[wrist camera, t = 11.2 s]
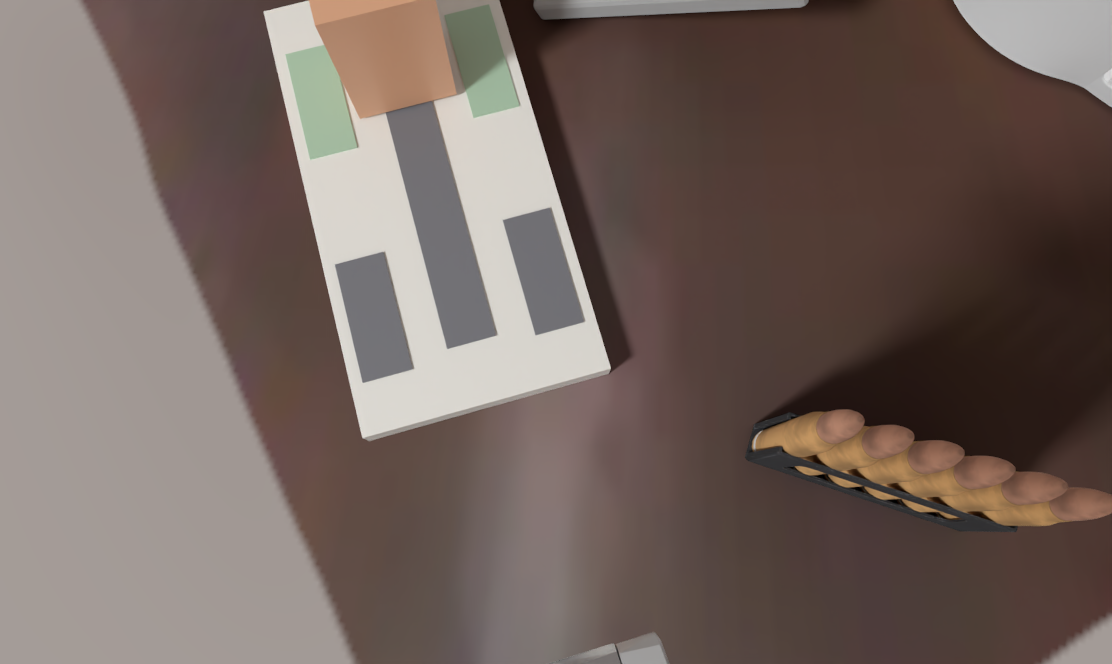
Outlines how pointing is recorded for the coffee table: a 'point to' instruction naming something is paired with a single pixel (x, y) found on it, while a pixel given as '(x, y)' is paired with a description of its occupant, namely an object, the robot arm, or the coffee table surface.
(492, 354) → the switch board
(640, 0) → the light switch
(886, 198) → the coffee table surface
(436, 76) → the tan rectangular block
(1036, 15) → the robot arm
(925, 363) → the coffee table surface
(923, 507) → the ammunition clip
